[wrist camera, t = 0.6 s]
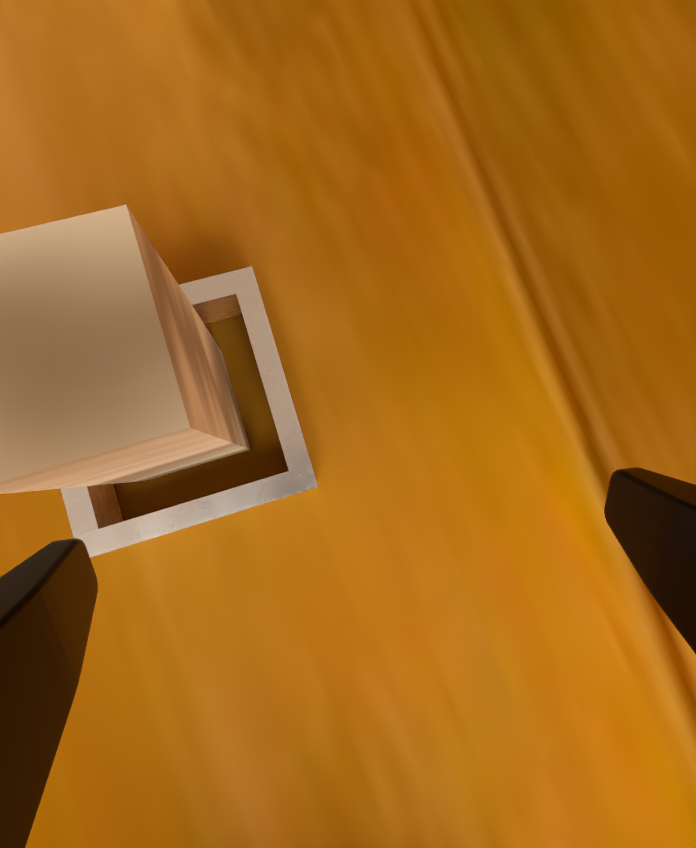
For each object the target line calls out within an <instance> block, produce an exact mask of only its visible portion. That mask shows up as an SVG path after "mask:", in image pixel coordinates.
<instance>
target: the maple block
mask: <svg viewBox="0 0 696 848" xmlns="http://www.w3.org/2000/svg"><path fill="white" fill-rule="evenodd" d="M248 450H251V448H250V445H249V442H248V438H247V435H246V431H245V428H244V425H243V421H242V418H241V414H240V411H239V408H238V404H237V401H236V397H235V394H234V390H233V387H232V384H231V380H230V377H229V373H228V370H227V367H226V363H225V360H224V356H223V353H222V351H221V349H220V347H219V346H218V344H217V343H216V341H215V340H214V338H213V337H212V335H211V334H210V332H209V331H208V329H207V328H206V326H205V324H204V323H203V321H202V320H201V318H200V317H199V315H198V314H197V312H196V311H195V309H194V308H193V306H192V305H191V303H190V301H189V300H188V298H187V297H186V295H185V294H184V292H183V291H182V289H181V288H180V286H179V285H178V283H177V282H176V280H175V278H174V277H173V275H172V274H171V272H170V271H169V269H168V268H167V266H166V265H165V263H164V262H163V260H162V259H161V257H160V256H159V254H158V252H157V251H156V249H155V248H154V246H153V245H152V243H151V242H150V240H149V239H148V237H147V236H146V234H145V233H144V231H143V229H142V228H141V226H140V225H139V223H138V222H137V220H136V219H135V217H134V216H133V214H132V213H131V211H130V210H129V208H128V206H127V205H123V206H118V207H114V208H110V209H105V210H101V211H97V212H92V213H88V214H84V215H79V216H75V217H71V218H66V219H62V220H58V221H54V222H49V223H45V224H41V225H36V226H32V227H28V228H23V229H19V230H15V231H10V232H6V233H2V234H0V494H6V493H17V492H28V491H38V490H49V489H60V488H71V487H82V486H93V485H104V484H115V483H126V482H137V481H147V480H151V479H154V478H158V477H161V476H164V475H168V474H171V473H174V472H178V471H181V470H184V469H188V468H191V467H195V466H198V465H201V464H205V463H208V462H211V461H215V460H218V459H222V458H225V457H228V456H232V455H235V454H238V453H242V452H245V451H248Z"/></svg>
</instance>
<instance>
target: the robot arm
mask: <svg viewBox="0 0 696 848" xmlns="http://www.w3.org/2000/svg"><path fill="white" fill-rule="evenodd" d="M604 512H605V518H606V521H607V523H608V525H609V527H610V528H611V530H612V532H613V533H614V535H615V536H616V538H617V540H618V541H619V543H620V545H621V546H622V548H623V550H624V551H625V553H626V554H627V556H628V558H629V559H630V561H631V563H632V564H633V566H634V568H635V569H636V571H637V573H638V574H639V576H640V577H641V579H642V581H643V582H644V584H645V585H646V587H647V589H648V590H649V592H650V593H651V595H652V596H653V598H654V599H655V600H656V602H657V603H658V605H659V606H660V607H661V609H662V610H663V611H664V613H665V614H666V615H667V617H668V618H669V619H670V621H671V622H672V623H673V625H674V626H675V627H676V629H677V630H678V631H679V633H680V634H681V635H682V637H683V638H684V639H685V641H686V642H687V643H688V645H689V646H690V647H691V649H692V650H693V651H694V653H695V654H696V485H694V484H691V483H688V482H684V481H681V480H678V479H675V478H671V477H668V476H665V475H662V474H658V473H655V472H652V471H649V470H645V469H642V468H627V469H620V470H616V471H615V472H613V474H612V475H611V478H610V482H609V487H608V492H607V498H606V503H605V508H604ZM97 591H98V583H97V578H96V574H95V571H94V568H93V566H92V563H91V560H90V557H89V554H88V551H87V548H86V545H85V543H84V542H83V541H82V540H80V539H78V538H75V539H67V540H59V541H54V542H51V543H50V544H48V545H47V546H45V547H44V548H42V549H41V550H39V551H38V552H36V553H35V554H34V555H32V556H31V557H29V558H28V559H26V560H25V561H23V562H22V563H21V564H19V565H18V566H16V567H15V568H13V569H12V570H10V571H9V572H7V573H6V574H5V575H3V576H2V577H0V848H25V847H26V843H27V840H28V837H29V834H30V831H31V828H32V825H33V822H34V819H35V816H36V813H37V810H38V807H39V804H40V801H41V798H42V794H43V791H44V788H45V785H46V782H47V779H48V776H49V773H50V770H51V767H52V764H53V761H54V758H55V755H56V752H57V749H58V745H59V742H60V739H61V736H62V733H63V730H64V727H65V724H66V721H67V718H68V715H69V712H70V709H71V706H72V703H73V699H74V696H75V693H76V689H77V686H78V682H79V678H80V674H81V670H82V665H83V660H84V655H85V650H86V646H87V641H88V636H89V631H90V626H91V621H92V616H93V612H94V607H95V602H96V597H97Z"/></svg>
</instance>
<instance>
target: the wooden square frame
mask: <svg viewBox="0 0 696 848" xmlns="http://www.w3.org/2000/svg"><path fill="white" fill-rule="evenodd" d="M179 286H180V288H181V289H182V291H183V292H184V294H185V295H186V297H187V298H188V300H189V301H190V303H191V305H192V306H193V308H194V309H195V311H196V312H197V314H198V315H199V317H200V318H201V320H202V321H203V323H204V324H208V323H212V322H215V321H219V320H223V319H227V318H231V317H234V316H238V315H243V318H244V322H245V325H246V328H247V332H248V335H249V339H250V342H251V345H252V349H253V352H254V355H255V359H256V362H257V365H258V369H259V372H260V376H261V379H262V382H263V386H264V389H265V392H266V396H267V399H268V403H269V406H270V409H271V413H272V416H273V419H274V423H275V426H276V430H277V433H278V436H279V440H280V443H281V446H282V450H283V453H284V457H285V460H286V463H287V467H288V470H289V471H287V472H283V473H280V474H277V475H274V476H270V477H267V478H264V479H260V480H257V481H254V482H251V483H247V484H244V485H241V486H237V487H234V488H231V489H228V490H224V491H221V492H218V493H214V494H211V495H208V496H205V497H201V498H198V499H195V500H191V501H188V502H185V503H182V504H178V505H175V506H172V507H168V508H165V509H162V510H159V511H155V512H152V513H149V514H146V515H142V516H139V517H136V518H132V519H129V520H126V521H123V517H122V514H121V510H120V507H119V503H118V499H117V496H116V492H115V489H114V485H113V484H104V485H93V486H82V487H71V488H60V489H61V492H62V496H63V500H64V503H65V507H66V511H67V514H68V518H69V522H70V525H71V529H72V533H73V536H74V539H75V538H78V539H80V540H82V541H83V542H84V543H85V545H86V548H87V551H88V554H89V557H93V556H97V555H100V554H103V553H106V552H110V551H113V550H116V549H119V548H122V547H126V546H129V545H132V544H135V543H138V542H142V541H145V540H148V539H151V538H155V537H158V536H161V535H164V534H167V533H171V532H174V531H177V530H180V529H184V528H187V527H190V526H193V525H196V524H200V523H203V522H206V521H209V520H213V519H216V518H219V517H222V516H225V515H229V514H232V513H235V512H238V511H241V510H245V509H248V508H251V507H254V506H258V505H261V504H264V503H267V502H270V501H274V500H277V499H280V498H283V497H287V496H290V495H293V494H296V493H299V492H303V491H306V490H309V489H312V488H316V487H318V484H317V481H316V478H315V474H314V471H313V468H312V464H311V461H310V458H309V454H308V451H307V448H306V444H305V441H304V438H303V434H302V431H301V428H300V424H299V421H298V418H297V414H296V411H295V408H294V404H293V401H292V398H291V394H290V391H289V388H288V384H287V381H286V378H285V374H284V371H283V367H282V364H281V361H280V357H279V354H278V351H277V347H276V344H275V341H274V337H273V334H272V331H271V327H270V324H269V321H268V317H267V314H266V311H265V307H264V304H263V301H262V297H261V294H260V291H259V287H258V284H257V281H256V277H255V274H254V271H253V267H252V266H251V267H247V268H243V269H239V270H235V271H231V272H227V273H223V274H219V275H215V276H211V277H207V278H203V279H199V280H195V281H191V282H187V283H183V284H179Z"/></svg>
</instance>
